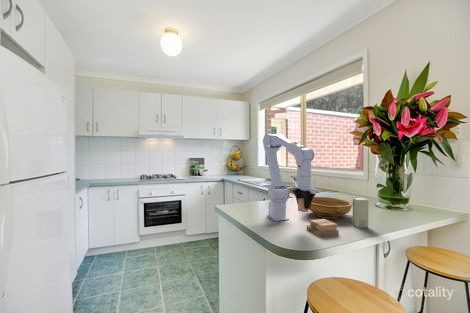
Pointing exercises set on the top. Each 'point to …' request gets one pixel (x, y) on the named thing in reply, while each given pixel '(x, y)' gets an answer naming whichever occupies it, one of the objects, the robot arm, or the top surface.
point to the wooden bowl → (330, 207)
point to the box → (360, 212)
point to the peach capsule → (301, 205)
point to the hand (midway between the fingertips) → (303, 207)
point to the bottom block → (322, 234)
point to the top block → (323, 225)
